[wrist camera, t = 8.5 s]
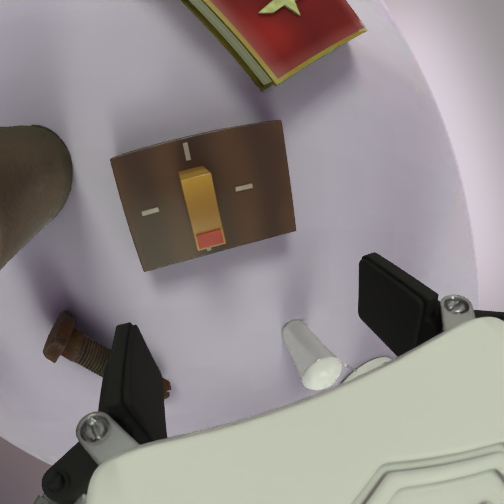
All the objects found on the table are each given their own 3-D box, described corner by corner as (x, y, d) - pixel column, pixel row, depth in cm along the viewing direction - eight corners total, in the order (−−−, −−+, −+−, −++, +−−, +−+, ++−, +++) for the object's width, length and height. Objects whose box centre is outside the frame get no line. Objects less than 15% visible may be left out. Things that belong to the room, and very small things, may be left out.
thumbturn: (178, 171, 22) (180, 181, 18) (202, 165, 22) (211, 173, 18) (192, 230, 24) (198, 252, 20) (215, 224, 24) (226, 245, 20)
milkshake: (319, 329, 37) (359, 381, 28) (283, 349, 36) (315, 406, 27) (311, 305, 35) (354, 358, 26) (271, 326, 34) (305, 386, 25)
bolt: (159, 373, 35) (57, 315, 27) (181, 368, 32) (68, 302, 25) (149, 414, 31) (38, 358, 23) (171, 413, 28) (46, 351, 21)
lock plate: (269, 121, 25) (282, 119, 22) (284, 221, 29) (297, 231, 27) (116, 155, 23) (109, 159, 20) (145, 258, 27) (143, 273, 24)
